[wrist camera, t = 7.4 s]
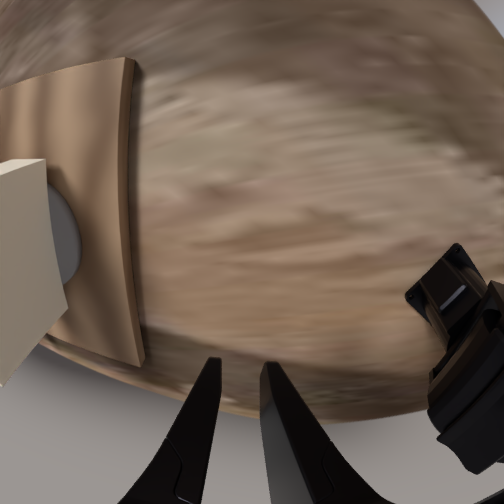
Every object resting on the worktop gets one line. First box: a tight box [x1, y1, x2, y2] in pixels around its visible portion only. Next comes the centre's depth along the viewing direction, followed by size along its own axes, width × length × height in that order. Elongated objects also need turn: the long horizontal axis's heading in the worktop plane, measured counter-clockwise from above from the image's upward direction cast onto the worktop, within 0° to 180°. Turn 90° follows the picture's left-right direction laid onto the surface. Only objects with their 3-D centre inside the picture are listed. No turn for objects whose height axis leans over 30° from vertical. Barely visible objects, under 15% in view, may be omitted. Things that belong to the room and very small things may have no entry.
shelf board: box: [0, 57, 146, 367], centre depth 20 cm, size 18×28×6 cm, turn 173°
